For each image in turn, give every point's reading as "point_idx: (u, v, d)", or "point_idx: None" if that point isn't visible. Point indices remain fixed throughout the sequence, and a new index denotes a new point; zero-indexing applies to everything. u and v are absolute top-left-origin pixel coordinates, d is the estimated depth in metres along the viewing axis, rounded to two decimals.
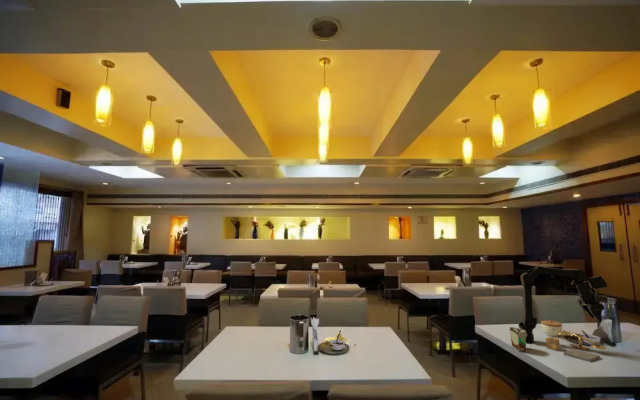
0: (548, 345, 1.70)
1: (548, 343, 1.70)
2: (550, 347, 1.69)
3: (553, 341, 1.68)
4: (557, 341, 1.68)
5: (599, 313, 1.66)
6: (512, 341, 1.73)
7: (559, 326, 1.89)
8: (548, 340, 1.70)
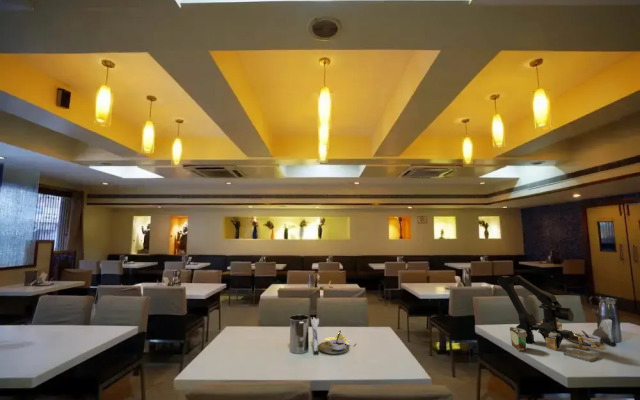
0: (548, 345, 1.70)
1: (548, 343, 1.70)
2: (550, 347, 1.69)
3: (553, 341, 1.68)
4: None
5: None
6: (512, 341, 1.73)
7: (559, 326, 1.89)
8: (548, 340, 1.70)
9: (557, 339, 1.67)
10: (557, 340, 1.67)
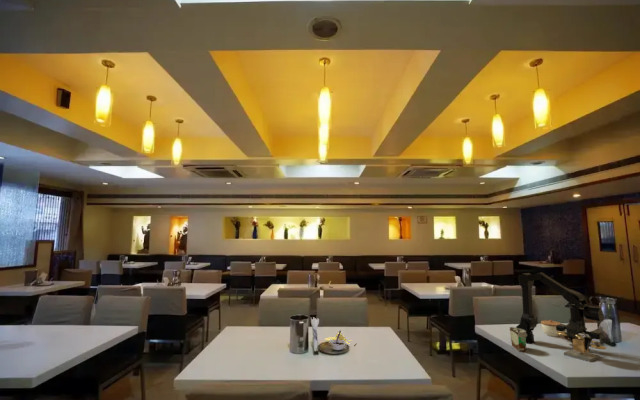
0: (575, 347, 1.59)
1: (575, 345, 1.59)
2: (578, 349, 1.58)
3: (581, 342, 1.57)
4: None
5: None
6: (512, 341, 1.73)
7: None
8: (575, 341, 1.59)
9: (586, 341, 1.56)
10: (586, 341, 1.56)
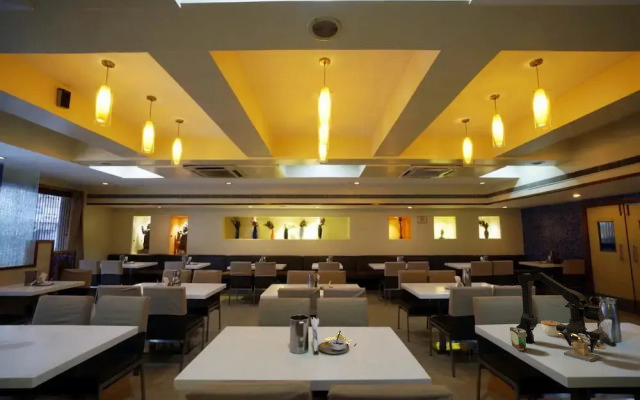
0: (576, 350, 1.59)
1: (576, 348, 1.59)
2: (578, 352, 1.58)
3: (582, 346, 1.57)
4: (586, 346, 1.57)
5: None
6: (512, 341, 1.73)
7: None
8: (576, 344, 1.59)
9: (591, 342, 1.54)
10: (591, 342, 1.54)
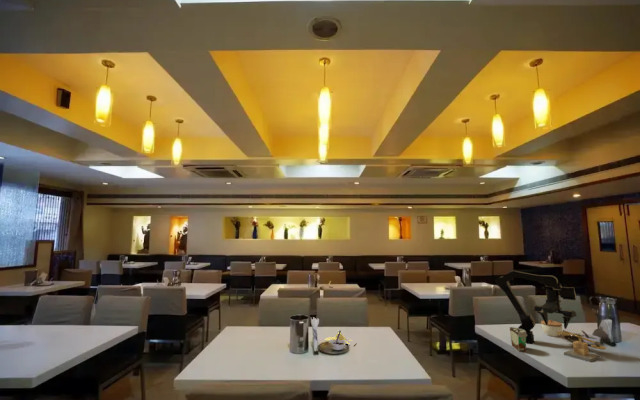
0: (576, 350, 1.59)
1: (576, 348, 1.59)
2: (578, 352, 1.58)
3: (582, 346, 1.57)
4: (586, 346, 1.57)
5: None
6: (512, 341, 1.73)
7: (559, 326, 1.89)
8: (576, 344, 1.59)
9: (564, 320, 1.69)
10: (565, 320, 1.69)
